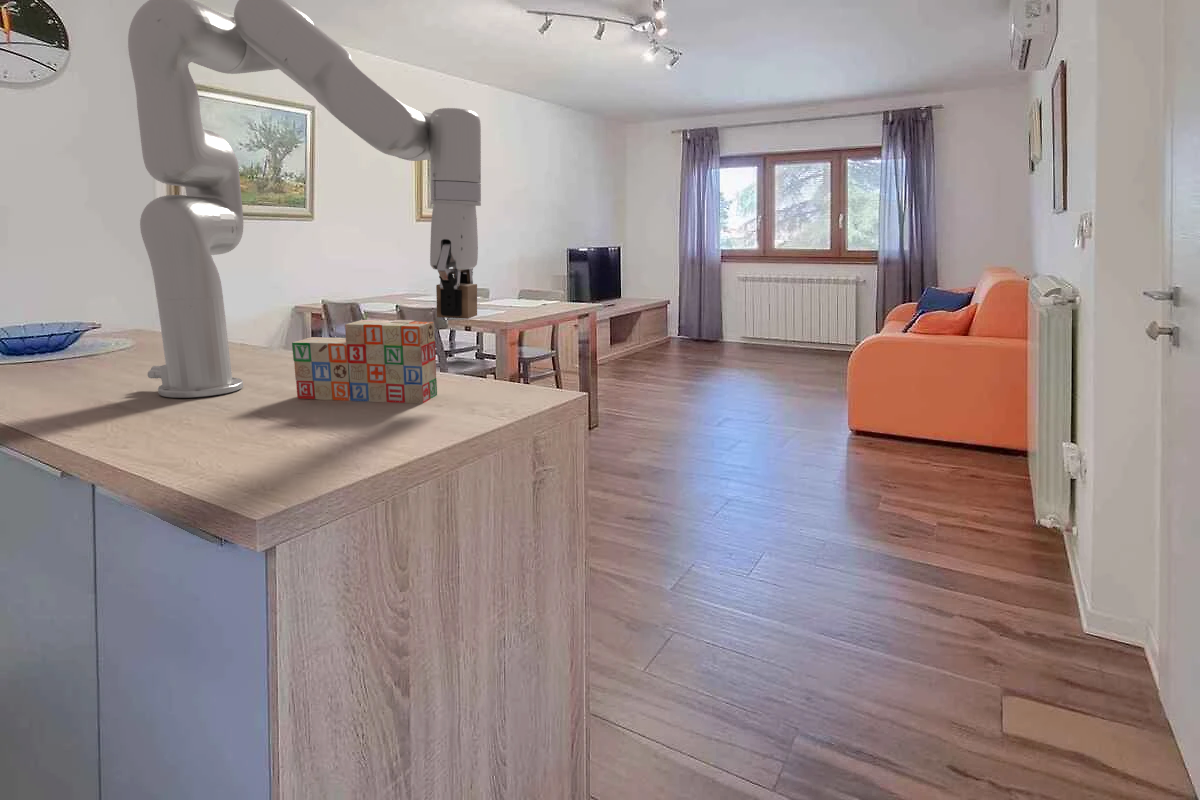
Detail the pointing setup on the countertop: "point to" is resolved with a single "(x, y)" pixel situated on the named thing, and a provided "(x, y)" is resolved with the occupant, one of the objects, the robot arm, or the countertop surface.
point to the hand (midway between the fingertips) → (457, 312)
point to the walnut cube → (467, 301)
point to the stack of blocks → (369, 363)
